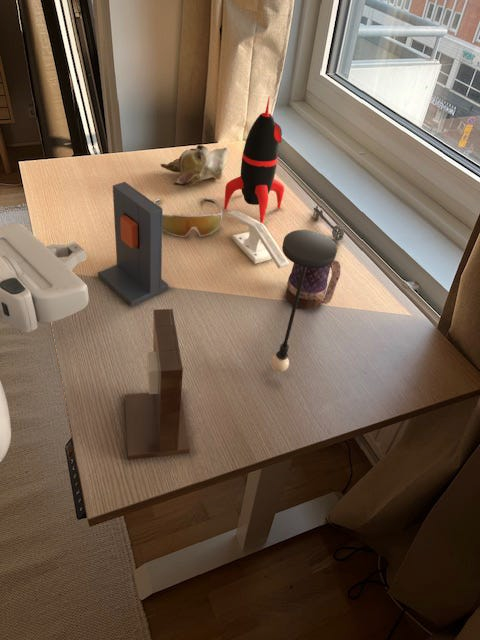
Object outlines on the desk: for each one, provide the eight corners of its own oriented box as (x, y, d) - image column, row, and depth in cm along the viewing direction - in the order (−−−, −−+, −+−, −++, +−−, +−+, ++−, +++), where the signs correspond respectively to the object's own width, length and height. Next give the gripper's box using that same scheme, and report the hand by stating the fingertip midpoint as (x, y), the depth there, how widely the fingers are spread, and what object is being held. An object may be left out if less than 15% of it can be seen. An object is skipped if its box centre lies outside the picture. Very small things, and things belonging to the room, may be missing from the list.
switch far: (132, 248, 85) (131, 226, 83) (121, 239, 87) (119, 217, 84) (138, 246, 86) (137, 224, 83) (126, 237, 88) (126, 215, 85)
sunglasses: (158, 240, 103) (158, 216, 100) (149, 209, 115) (149, 188, 112) (227, 237, 106) (229, 215, 104) (212, 208, 118) (213, 187, 115)
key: (342, 244, 110) (346, 231, 108) (338, 245, 110) (342, 231, 107) (314, 214, 118) (317, 201, 115) (310, 215, 117) (314, 202, 115)
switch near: (149, 394, 64) (149, 371, 61) (147, 375, 66) (147, 351, 63) (158, 393, 64) (159, 370, 61) (156, 374, 67) (157, 350, 64)
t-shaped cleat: (269, 280, 98) (274, 256, 94) (219, 224, 110) (221, 202, 106) (286, 275, 100) (292, 252, 96) (235, 221, 112) (238, 199, 108)
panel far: (131, 306, 88) (128, 221, 77) (98, 276, 93) (90, 192, 81) (168, 288, 93) (170, 205, 81) (135, 261, 97) (132, 178, 86)
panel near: (128, 460, 67) (123, 373, 55) (124, 398, 74) (119, 311, 62) (189, 453, 69) (197, 368, 57) (180, 394, 76) (185, 308, 64)
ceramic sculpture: (237, 151, 116) (173, 161, 111) (235, 186, 122) (174, 196, 117) (218, 131, 123) (158, 140, 118) (217, 165, 129) (160, 174, 124)
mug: (278, 288, 96) (289, 234, 88) (310, 282, 99) (325, 229, 91) (304, 325, 90) (319, 270, 82) (338, 317, 92) (356, 263, 84)
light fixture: (247, 381, 79) (273, 246, 62) (268, 355, 84) (297, 223, 67) (286, 401, 77) (324, 268, 60) (304, 374, 82) (345, 243, 65)
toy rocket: (261, 226, 111) (280, 110, 94) (221, 209, 114) (233, 93, 98) (282, 208, 118) (304, 96, 101) (244, 192, 121) (259, 81, 104)
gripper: (-34, 264, 79) (49, 235, 87) (33, 340, 69) (120, 300, 77) (-45, 230, 75) (44, 202, 83) (25, 305, 65) (118, 266, 73)
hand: (81, 250), depth 80 cm, fingers closed
